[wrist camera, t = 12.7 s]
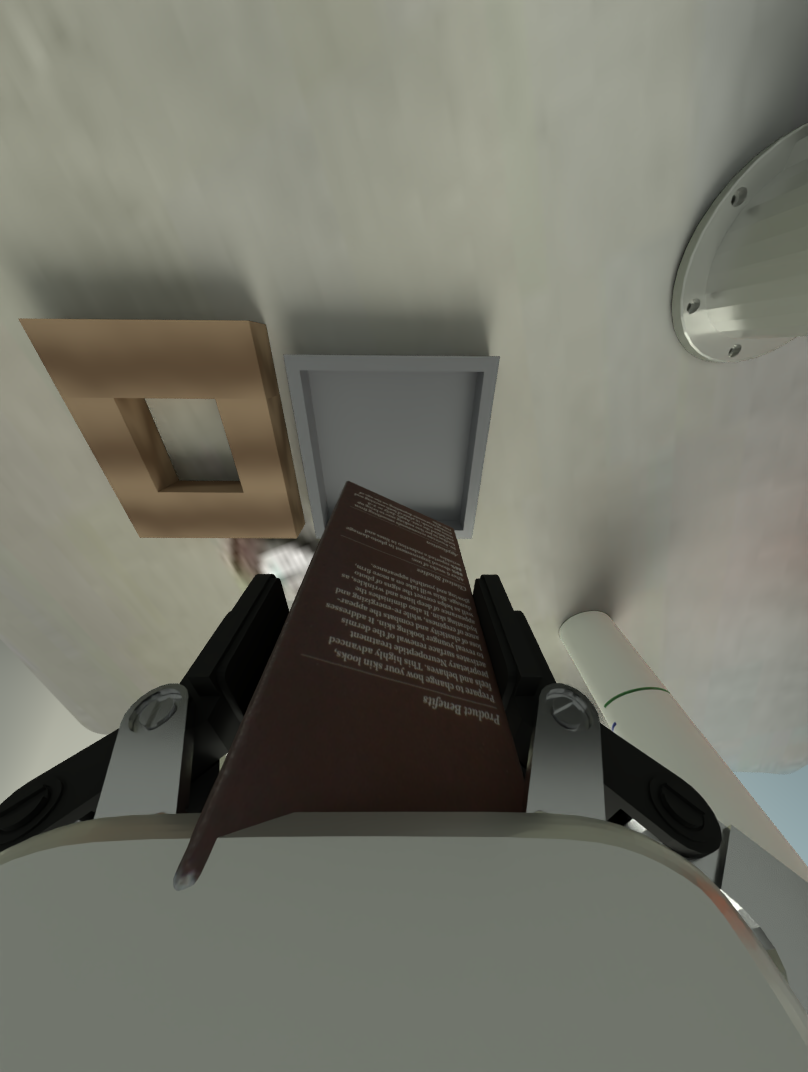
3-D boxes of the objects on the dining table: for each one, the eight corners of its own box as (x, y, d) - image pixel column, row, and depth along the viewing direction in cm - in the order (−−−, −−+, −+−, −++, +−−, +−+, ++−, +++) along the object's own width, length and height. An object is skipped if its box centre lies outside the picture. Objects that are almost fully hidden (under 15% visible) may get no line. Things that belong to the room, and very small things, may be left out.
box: (316, 549, 15) (140, 941, 5) (347, 476, 13) (155, 892, 3) (417, 588, 17) (439, 954, 6) (459, 528, 15) (592, 927, 4)
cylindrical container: (556, 647, 44) (702, 923, 22) (561, 614, 40) (741, 907, 19) (606, 641, 43) (805, 920, 22) (616, 607, 39) (866, 903, 18)
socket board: (61, 322, 23) (18, 318, 20) (265, 324, 23) (248, 320, 20) (160, 523, 32) (139, 537, 30) (305, 523, 32) (296, 538, 30)
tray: (295, 354, 24) (283, 354, 21) (489, 356, 24) (499, 356, 22) (323, 523, 32) (316, 538, 30) (466, 524, 32) (471, 538, 30)
